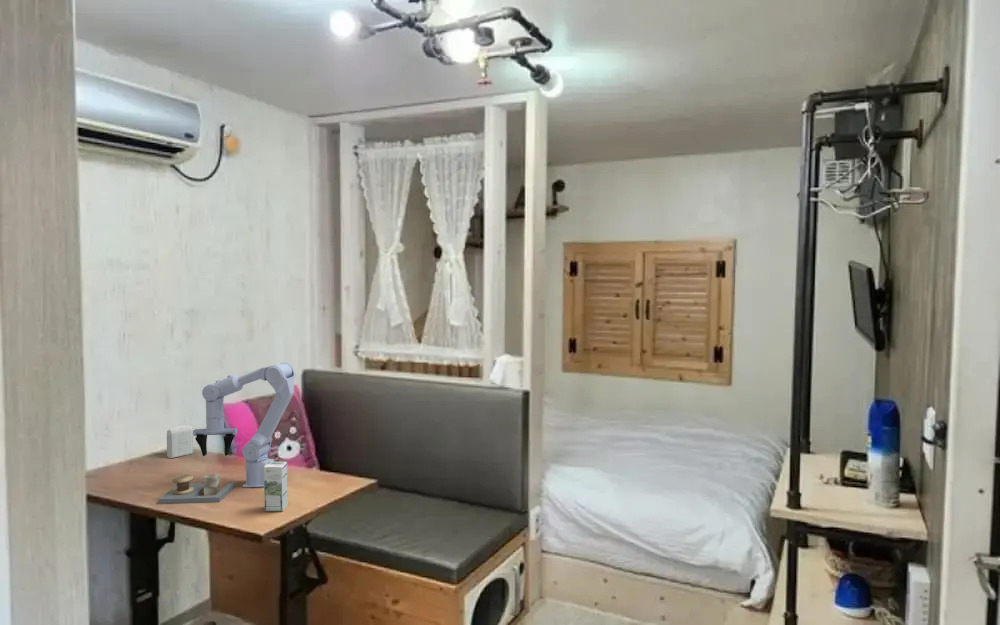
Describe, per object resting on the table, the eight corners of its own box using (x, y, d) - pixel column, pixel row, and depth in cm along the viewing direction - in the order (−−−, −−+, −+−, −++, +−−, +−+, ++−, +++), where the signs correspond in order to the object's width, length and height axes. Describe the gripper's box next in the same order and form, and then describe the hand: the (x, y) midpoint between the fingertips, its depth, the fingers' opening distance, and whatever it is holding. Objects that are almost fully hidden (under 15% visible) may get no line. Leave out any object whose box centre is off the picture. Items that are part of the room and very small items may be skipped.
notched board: (235, 486, 226) (235, 482, 226) (219, 502, 210) (219, 497, 210) (178, 487, 224) (178, 483, 224) (158, 503, 209) (158, 499, 208)
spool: (196, 488, 219) (196, 474, 219) (189, 494, 213) (188, 480, 213) (177, 488, 219) (176, 475, 219) (169, 495, 212) (168, 481, 212)
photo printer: (189, 452, 271) (188, 422, 271) (195, 453, 269) (194, 424, 268) (165, 457, 263) (164, 427, 262) (171, 459, 260) (170, 428, 260)
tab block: (219, 491, 221) (219, 473, 221) (216, 495, 217) (216, 477, 217) (207, 491, 220) (206, 474, 220) (204, 495, 216) (203, 478, 216)
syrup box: (288, 505, 207) (287, 460, 206) (282, 512, 201) (281, 466, 200) (270, 505, 207) (269, 460, 206) (263, 512, 201) (263, 466, 200)
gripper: (239, 414, 234) (240, 451, 235) (198, 415, 233) (198, 452, 233) (233, 418, 227) (234, 456, 227) (190, 419, 226) (191, 457, 226)
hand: (215, 455), depth 230 cm, fingers open, 7 cm apart
